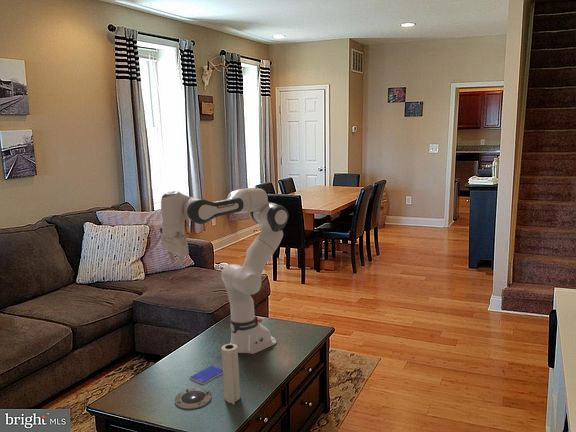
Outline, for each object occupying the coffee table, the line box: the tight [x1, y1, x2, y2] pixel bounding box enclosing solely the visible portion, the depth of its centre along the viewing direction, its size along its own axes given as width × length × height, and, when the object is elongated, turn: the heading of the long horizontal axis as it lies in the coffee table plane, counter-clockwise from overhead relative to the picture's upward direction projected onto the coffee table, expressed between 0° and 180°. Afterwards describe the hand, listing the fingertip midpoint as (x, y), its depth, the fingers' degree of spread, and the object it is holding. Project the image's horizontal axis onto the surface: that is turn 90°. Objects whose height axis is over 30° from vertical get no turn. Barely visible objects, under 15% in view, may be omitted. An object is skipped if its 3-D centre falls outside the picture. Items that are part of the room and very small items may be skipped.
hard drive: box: [188, 365, 223, 386], centre depth 212 cm, size 2×8×12 cm
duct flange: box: [174, 387, 213, 410], centre depth 194 cm, size 14×14×1 cm
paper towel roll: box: [220, 343, 241, 406], centre depth 191 cm, size 7×6×21 cm
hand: (176, 262), depth 213 cm, fingers open, 8 cm apart
